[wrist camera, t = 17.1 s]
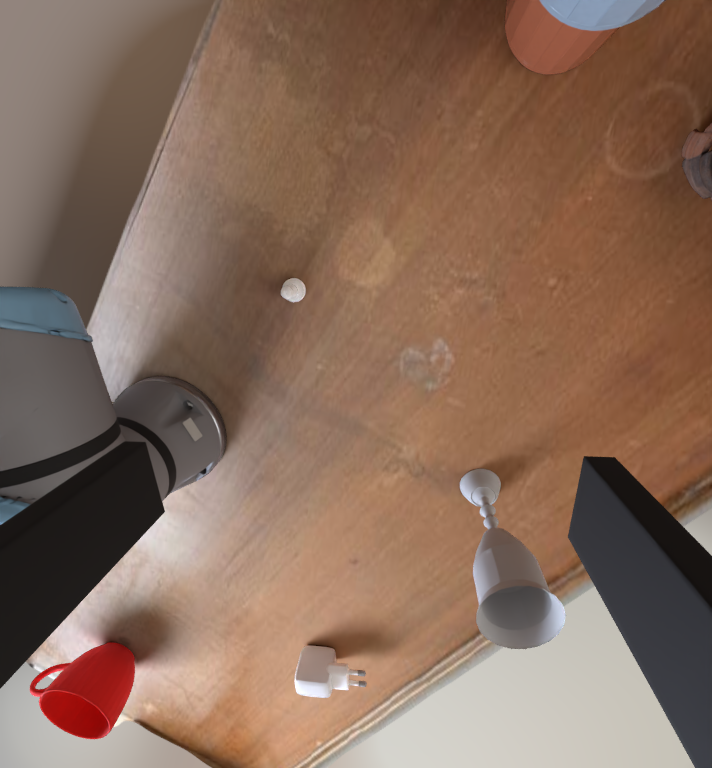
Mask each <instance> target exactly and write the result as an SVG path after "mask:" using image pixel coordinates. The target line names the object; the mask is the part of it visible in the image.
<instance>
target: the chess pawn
mask: <svg viewBox="0 0 712 768" xmlns="http://www.w3.org/2000/svg"><path fill="white" fill-rule="evenodd" d="M305 294H306V288H305V285H304V283H303V282H302V281H301V280H299V279H297V278H291V279H288V280H286V281H285V282H284V284H283V286H282V289H281V296H282V297H283V298H285V299H287V300H288V301H291V302H297V301H300V300H302V299H303V298H304V296H305Z"/></svg>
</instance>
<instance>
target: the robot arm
mask: <svg viewBox="0 0 712 768" xmlns="http://www.w3.org/2000/svg"><path fill="white" fill-rule="evenodd" d="M92 341H93V340H92V337H91V336H90V335H88V333H87V331H86V328H85V326H84V324H83V321H82V319H81V317H80V314H79V312H78V309H77V307H76V305H75V303H74V302H73V301H72V300H71V299H70V298H69V297H68V296H67V295H65V294H63V293H61V292H59V291H57V290H53V289H47V288H33V287H32V288H31V287H0V688H1V687H2V686H3V685H4V684H5V683H6V682H7V681H8V680H9V679H10V677H12V675H13V674H14V673H15V672H16V671H17V670H18V669H19V668H20V667H21V666H22V665H23V664H24V663H25V661H26V660H27V659H28V658H29V657H30V656H31V655H32V654H33V653H34V652H35V651H36V650H37V649H38V647H39V646H40V645H41V644H42V643H43V642H44V641H45V640H46V639H47V638H48V637H49V636H50V635H51V634H52V632H53V631H54V630H55V629H56V628H57V627H58V626H59V625H60V624H61V623H62V622H63V621H64V620H65V618H66V617H67V616H68V615H69V614H70V613H71V612H72V611H73V610H74V609H75V608H76V607H77V606H78V604H79V603H80V602H81V601H82V600H83V599H84V598H85V597H86V596H87V595H88V594H89V593H90V592H91V591H92V589H93V588H94V587H95V586H96V585H97V584H98V583H99V582H100V581H101V580H102V579H103V578H104V577H105V575H106V574H107V573H108V572H109V571H110V570H111V569H112V568H113V567H114V566H115V565H116V564H117V563H118V561H119V560H120V559H121V558H122V557H123V556H124V555H125V554H126V553H127V552H128V551H129V550H130V549H131V547H132V546H133V545H134V544H135V543H136V542H137V541H138V540H139V539H140V538H141V537H142V536H143V535H144V534H145V532H146V531H147V530H148V529H149V528H150V527H151V526H152V525H153V524H154V523H155V522H156V521H157V520H158V518H159V517H160V516H161V515H162V514H163V513H164V512H165V511H164V507H163V503H162V501H163V500H164V499H165V498H166V497H167V496H168V495H169V494H170V493H172V492H174V491H176V490H178V489H180V488H182V487H184V486H187V485H189V484H191V483H193V482H195V481H197V480H199V479H201V478H202V477H204V476H206V475H207V474H208V473H209V472H210V471H211V470H212V469H213V468H214V467H215V466H216V465H217V464H218V462H219V461H220V460H221V458H222V456H223V454H224V451H225V447H226V430H225V426H224V423H223V420H222V417H221V415H220V413H219V412H218V410H217V408H216V407H215V405H214V404H213V403H212V402H211V400H210V399H209V398H208V397H207V396H206V395H205V394H204V393H202V392H201V391H200V390H199V389H197V388H196V387H194V386H193V385H191V384H189V383H187V382H185V381H182V380H180V379H177V378H173V377H167V376H155V377H149V378H146V379H143V380H141V381H139V382H137V383H135V384H133V385H131V386H129V387H128V388H126V389H125V390H124V391H123V392H122V393H121V394H120V395H119V396H118V398H117V399H116V400H115V402H114V403H113V404H112V402H111V399H110V396H109V393H108V391H107V388H106V385H105V382H104V379H103V376H102V373H101V370H100V367H99V364H98V361H97V358H96V355H95V352H94V349H93V346H92V343H91V342H92ZM568 538H569V540H570V542H571V543H572V545H573V547H574V549H575V551H576V553H577V554H578V556H579V558H580V560H581V562H582V563H583V565H584V567H585V569H586V571H587V572H588V574H589V576H590V578H591V580H592V582H593V583H594V585H595V587H596V589H597V591H598V592H599V594H600V596H601V598H602V600H603V601H604V603H605V605H606V607H607V609H608V611H609V612H610V614H611V616H612V618H613V620H614V621H615V623H616V625H617V627H618V629H619V630H620V632H621V634H622V636H623V638H624V640H625V641H626V643H627V645H628V647H629V649H630V650H631V652H632V654H633V656H634V657H635V659H636V661H637V663H638V665H639V667H640V669H641V670H642V672H643V674H644V676H645V678H646V679H647V681H648V683H649V685H650V687H651V688H652V690H653V692H654V694H655V696H656V698H657V699H658V701H659V703H660V705H661V706H662V708H663V710H664V712H665V714H666V716H667V717H668V719H669V721H670V723H671V725H672V726H673V728H674V730H675V732H676V734H677V735H678V737H679V739H680V741H681V743H682V744H683V747H684V748H685V750H686V752H687V754H688V755H689V757H690V759H691V761H692V763H693V765H694V766H695V768H712V556H711V555H710V554H709V553H708V552H707V551H706V550H705V549H704V548H703V547H702V546H701V545H700V543H698V541H696V539H695V538H694V537H693V536H691V534H690V533H689V532H688V531H687V530H686V529H685V528H684V527H683V526H682V525H681V524H680V523H679V522H678V521H677V520H676V519H675V518H674V517H673V516H672V515H671V514H670V513H669V512H668V511H667V510H666V509H665V508H664V507H663V506H662V505H661V504H660V503H659V502H658V501H657V500H656V499H655V498H654V497H653V496H652V495H651V494H650V493H649V492H648V491H647V490H646V489H645V488H644V487H643V486H642V485H641V484H640V483H639V482H638V481H637V480H636V479H635V478H634V477H633V476H632V475H631V474H630V472H629V471H628V470H627V469H626V468H625V467H624V466H623V465H622V464H621V463H620V462H619V461H618V460H617V459H616V458H615V457H587V456H584V458H583V463H582V469H581V474H580V479H579V484H578V489H577V494H576V499H575V504H574V509H573V514H572V519H571V524H570V529H569V534H568Z"/></svg>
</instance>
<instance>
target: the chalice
mask: <svg viewBox="0 0 712 768" xmlns="http://www.w3.org/2000/svg"><path fill="white" fill-rule="evenodd" d="M500 488H501V482H500V480H499V477H498V476H497V475H496V474H495V473H493V472H492V471H490V470H486V469H475V470H472V471H470V472H468V473H466V474H465V475H464V476H463V478H462V479H461V482H460V490H461V492H462V494H463V495H464V496H465V497H466V498H467V499H468V500H469V501H470V502H471V503H472V504H474V505H476V506H479V507H481V509H480V514H481V515H482V516H483V517H485V520H484V526H485V527H487V528H488V530H487V531H486V532H485V533H484V535H483V537H482V539H481V542H480V544H479V547H478V549H477V552H476V556H475V561H474V566H473V576H474V581H475V586H476V591H477V596H478V601H479V608H478V610H477V619H476V623H477V625H478V628H479V630H480V632H481V633H482V634H483V635H484V636H485V637H486V638H487V639H488V640H490V641H491V642H493V643H495V644H497V645H499V646H503V647H507V648H511V649H527V648H532V647H537V646H540V645H542V644H544V643H547V642H549V641H550V640H552V639H553V638H554V637H555V636H556V635H558V634H559V632H560V630H561V629H562V627H563V626H564V622H565V616H566V615H565V611H564V608H563V605H562V603H561V602H560V601H559V600H558V599H557V598H556V596H555V595H553V594H552V593H551V592H550V591H549V588H548V586H547V583H546V581H545V578H544V576H543V573H542V571H541V569H540V566H539V564H538V561H537V559H536V558H535V556H534V555H533V554H532V553H531V552H530V551H529V550H528V549H527V548H526V547H525V546H524V544H523V543H522V542H521V541H519V540H518V539H517V538H515V537H514V536H513V535H511V534H510V533H509V532H507V531H506V530H504V529H502V528H497V525H498V523H499V521H498V519H497V518H495V517H494V516H493V515H494V514H495V512H496V510H495V508H494V506H492V504H493V503H494V502H495V501H496V500H497V498H498V494H499V491H500Z"/></svg>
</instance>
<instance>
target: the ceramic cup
mask: <svg viewBox="0 0 712 768" xmlns="http://www.w3.org/2000/svg"><path fill="white" fill-rule="evenodd" d="M134 661H135V658H134V655H133V653H132V652H131V651H130V650H129V649H128V648H127V647H125V646H123V645H121V644H119V643H115V642H109V643H106V644H104V645H101V646H98V647H96V648H93V649H91V650H89V651H87V652H86V653H84V654H83V655H81V656H80V657H78V658H77V659H76V660H74V661H73V662H72V663H65V664H59V665H55V666H53V667H50V668H48V669H46V670H44V671H43V672H41V673H40V674H39V675H38V676H37V677H36V678H35V679H34V680H33V681H32V683H31V685H30V693H31V694H32V695H34V696H38V697H39V696H40V700H39V705H40V708H41V710H42V712H43V713H44V715H45V716H46V717H47V718H48V719H49V720H50V721H51V722H52V723H53V724H54V725H56V726H57V727H59V728H61V729H62V730H64V731H65V732H68V733H70V734H72V735H75V736H78V737H82V738H86V739H99V738H103V737H104V736H106V735H107V734H108V733H109V732H110V731H111V729H112V728H113V726H114V724H115V723H116V721H117V719H118V717H119V715H120V714H121V712H122V710H123V708H124V706H125V704H126V702H127V699H128V697H129V695H130V692H131V689H132V686H133V682H134V674H135V664H134ZM61 670H63V671H62V672H61V673H60V674H59V675H58V677H57V678H56V679H55V680H54V681H53V682H52V683H51V684H50V686H49V687H47V688H45V689H40V690H38V689H35V686H36V684H37V683H38V682H39V681H40V680H41V679H42V678H44V677H45V676H47V675H49V674H51V673H53V672H57V671H61Z"/></svg>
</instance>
